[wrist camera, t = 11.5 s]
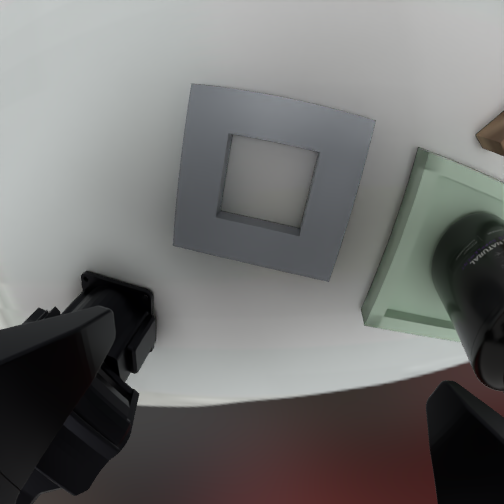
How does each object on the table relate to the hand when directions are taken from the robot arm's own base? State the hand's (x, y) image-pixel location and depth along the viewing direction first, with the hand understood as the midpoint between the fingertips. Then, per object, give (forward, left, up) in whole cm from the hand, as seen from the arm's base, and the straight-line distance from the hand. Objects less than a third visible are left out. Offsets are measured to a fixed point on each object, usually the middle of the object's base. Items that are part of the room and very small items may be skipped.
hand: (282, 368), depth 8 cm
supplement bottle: (+12, 0, -12) cm, 17 cm away
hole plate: (-2, +1, -13) cm, 13 cm away
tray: (+12, -1, -13) cm, 18 cm away
